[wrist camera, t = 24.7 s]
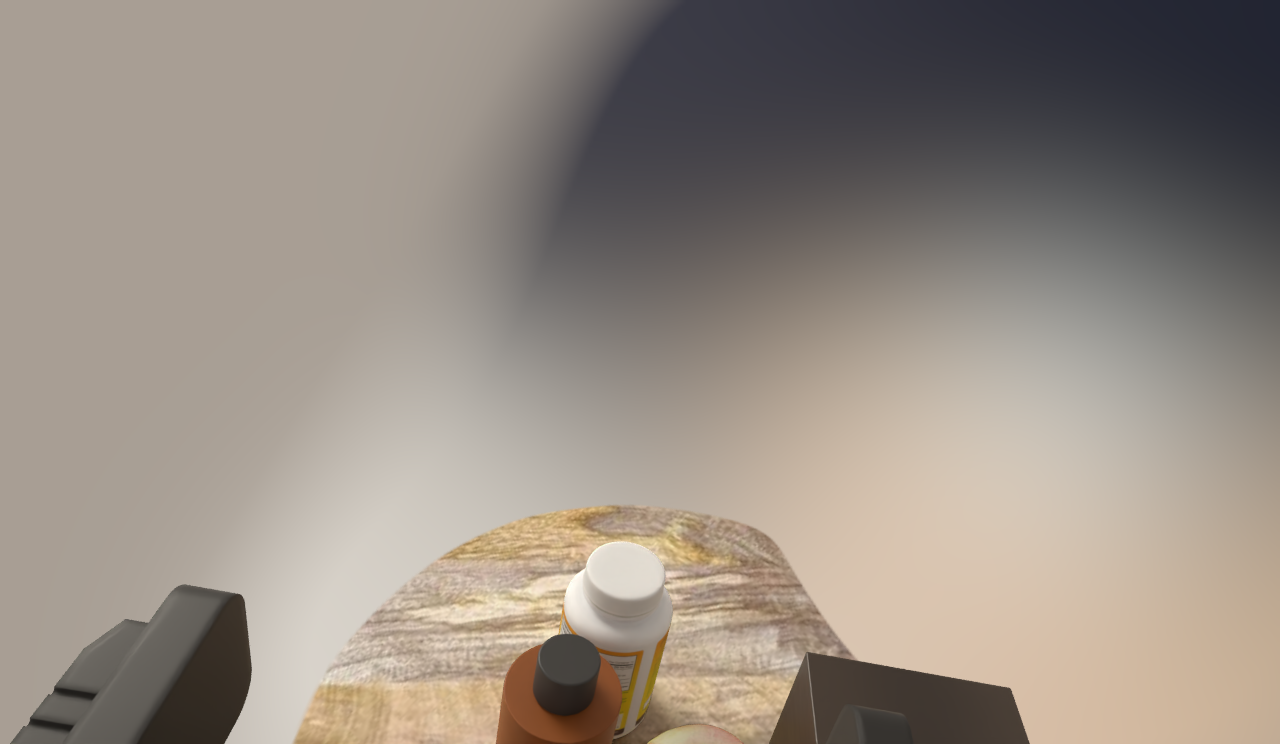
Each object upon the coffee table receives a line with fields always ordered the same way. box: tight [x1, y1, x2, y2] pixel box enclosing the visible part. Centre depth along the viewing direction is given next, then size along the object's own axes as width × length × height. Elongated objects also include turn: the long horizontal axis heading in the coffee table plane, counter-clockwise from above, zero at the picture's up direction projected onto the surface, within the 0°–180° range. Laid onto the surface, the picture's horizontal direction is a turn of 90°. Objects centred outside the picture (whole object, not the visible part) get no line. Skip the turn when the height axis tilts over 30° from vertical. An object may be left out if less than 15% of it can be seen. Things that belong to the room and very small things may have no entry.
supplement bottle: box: [559, 542, 673, 739], centre depth 45 cm, size 6×6×10 cm
